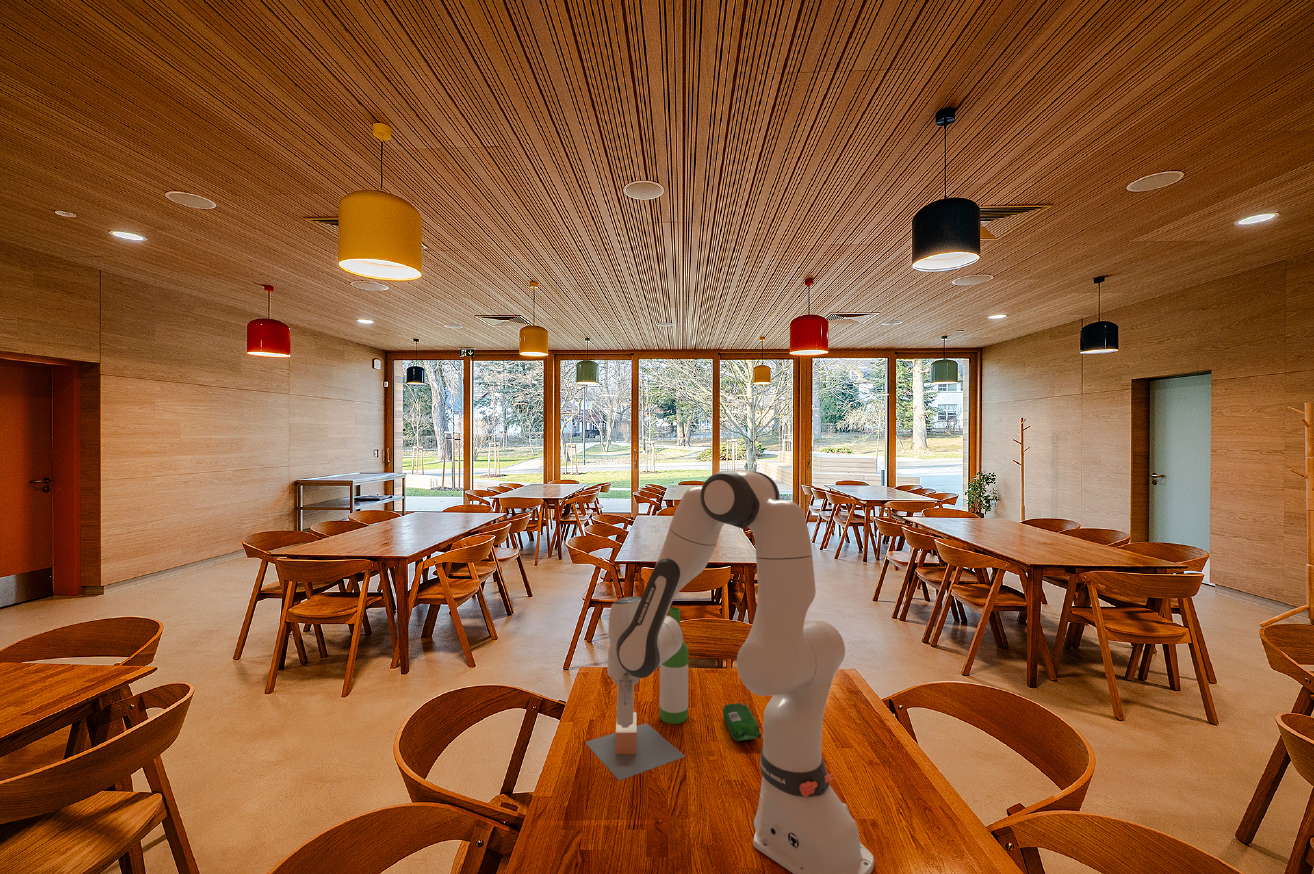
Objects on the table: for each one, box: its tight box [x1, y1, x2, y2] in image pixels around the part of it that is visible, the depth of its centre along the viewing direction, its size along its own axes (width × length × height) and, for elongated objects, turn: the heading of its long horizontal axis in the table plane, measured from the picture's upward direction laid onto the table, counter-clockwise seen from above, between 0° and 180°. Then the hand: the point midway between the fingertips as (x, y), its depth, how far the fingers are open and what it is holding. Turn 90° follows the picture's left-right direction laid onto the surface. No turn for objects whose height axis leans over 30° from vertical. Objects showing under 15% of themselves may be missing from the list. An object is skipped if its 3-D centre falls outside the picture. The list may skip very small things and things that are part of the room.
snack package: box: [722, 702, 762, 742], centre depth 140 cm, size 7×16×5 cm, turn 6°
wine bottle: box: [659, 607, 689, 725], centre depth 146 cm, size 8×8×30 cm
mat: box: [584, 722, 687, 782], centre depth 130 cm, size 18×18×1 cm
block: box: [615, 711, 638, 754], centre depth 133 cm, size 5×5×10 cm
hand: (625, 724), depth 126 cm, fingers closed
